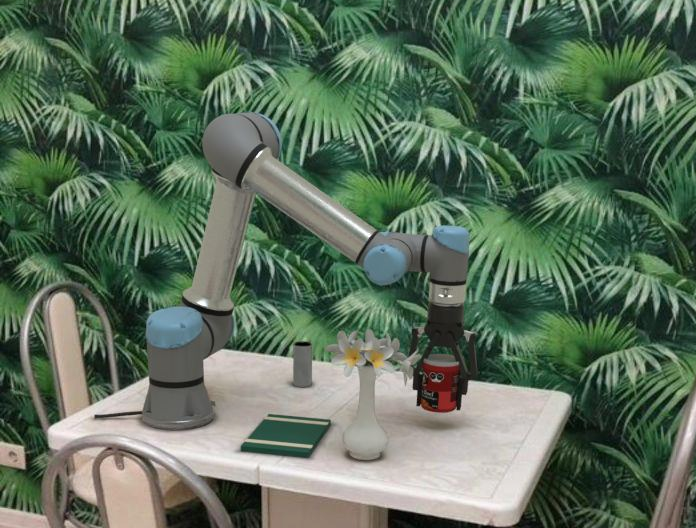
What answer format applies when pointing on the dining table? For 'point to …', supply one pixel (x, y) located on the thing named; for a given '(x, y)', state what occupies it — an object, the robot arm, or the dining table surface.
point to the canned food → (440, 383)
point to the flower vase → (368, 387)
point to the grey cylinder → (302, 364)
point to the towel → (286, 435)
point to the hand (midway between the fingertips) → (438, 406)
